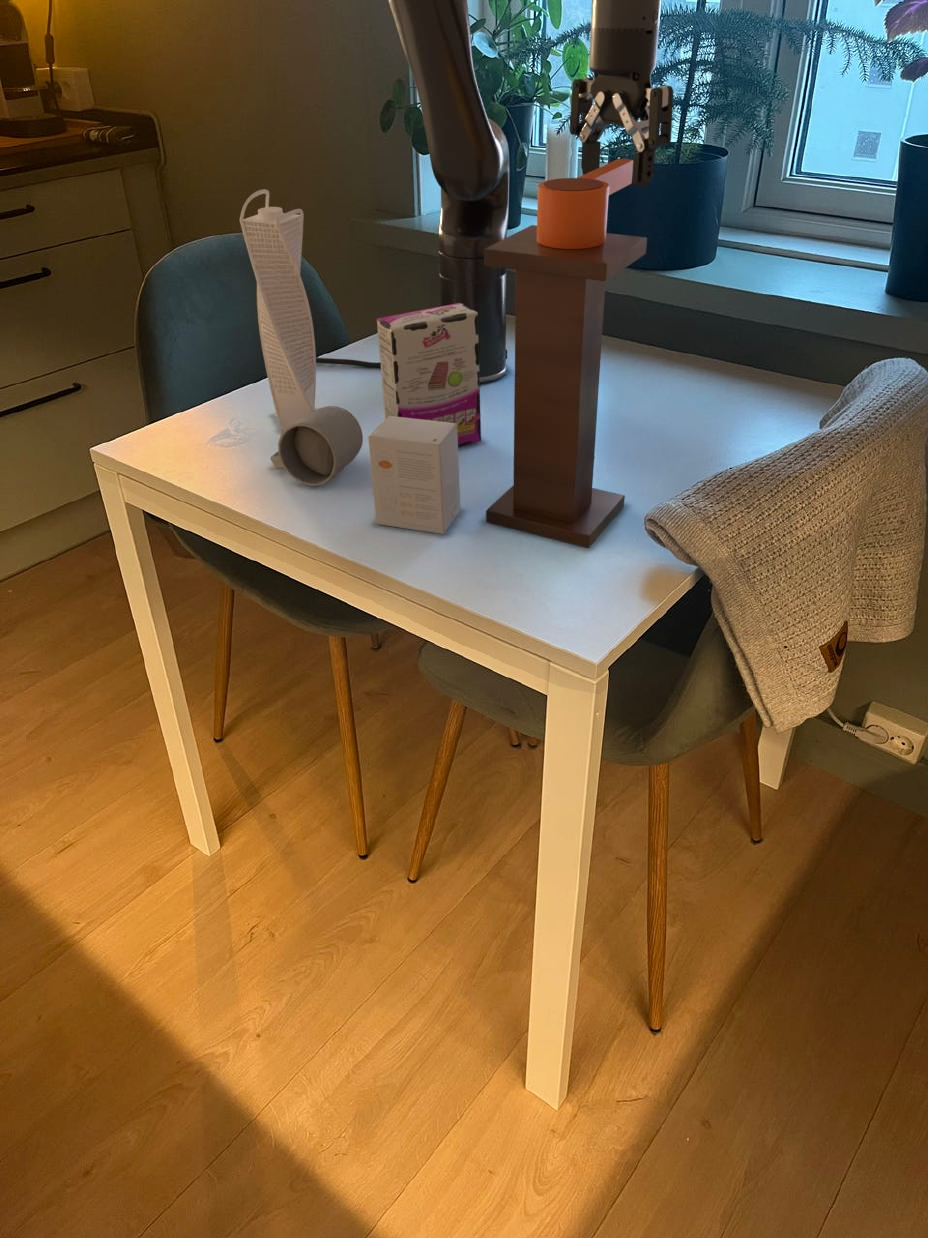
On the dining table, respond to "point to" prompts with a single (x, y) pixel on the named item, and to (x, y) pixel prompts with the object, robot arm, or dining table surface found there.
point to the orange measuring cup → (579, 206)
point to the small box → (415, 473)
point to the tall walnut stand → (558, 384)
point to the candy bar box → (433, 367)
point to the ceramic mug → (319, 445)
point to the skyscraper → (282, 308)
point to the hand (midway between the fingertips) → (615, 180)
